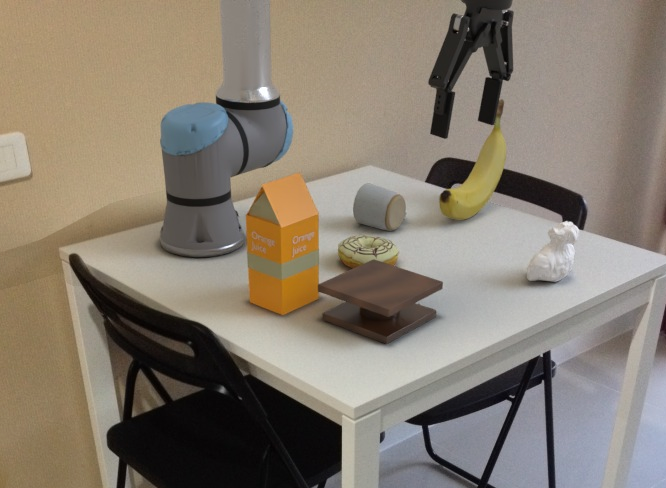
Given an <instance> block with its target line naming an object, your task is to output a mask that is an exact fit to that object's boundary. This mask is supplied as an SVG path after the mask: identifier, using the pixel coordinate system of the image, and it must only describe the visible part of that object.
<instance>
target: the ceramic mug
mask: <svg viewBox="0 0 666 488" xmlns="http://www.w3.org/2000/svg"><path fill="white" fill-rule="evenodd" d="M406 209H407V204H406V200H405V197H404V196H403V195H401V194H400V193H398V192H396V191H394V190H391V189H388V188H385V187H382V186H379V185H376V184H375V183H371V182H366V183H364V184H363V185H361V186H360V188H358V190H357V192H356V194H355V197H354V200H353V205H352V215H353V218H354V221H356V223H357V224H360V225H364V226H367V227H370V228H371V227H372V228H374V229H375V228H376V229H379V230H383V231H387V232H388V231H389V232H391V231H395V230H396V229H398V228H399V227H400V226H401V225H402V223H403V221H405V220H406V217H407V212H406Z"/></svg>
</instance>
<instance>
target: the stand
mask: <svg viewBox="0 0 666 488" xmlns="http://www.w3.org/2000/svg"><path fill="white" fill-rule="evenodd" d="M443 287H444V281H443V280H439V279H436V278H433V277H429V276H427V275H424V274H420V273H417V272H413V271H411V270H408V269H405V268H402V267H399V266H395V265H394V266H393V265H390V264H387V263H384V262H380V261H377V260H374V259H373V260H371V261H369V262H366V263H364V264H362V265H360V266H358V267H355V268H351V269H349V270H347V271H344V272H343V273H342V272H341V273H340V274H338V275H335V276H334V277H331V278H329V279H327V280H325V281H322V282H319V284H318V292H319V294H323V295H326V296H329V297H331V298H334V299H337V300H339V301H343V302H342V303H341V304H338V305H335V306H334V307H332V308H330V309H328V310H325V311H324V312H322V317H321V318H322V321H325V322H327V323H330V324H333V325H335V326H338V327H340V328H343V329H346V330H349V331H350V332H353V333H356V334H359V335H362V336H365V337H367V338H370V339H372V340H375V341H377V342H381V343H383V344H385V345H387V344H390V343H392V342H393V341H395V340H397V339H399V338H400V337H402V336H404V335H406V334H408V333H410V332H411V331H413V330H415V329H416V328H419V327H420V326H422V325H424V324H426V323H428V322H430V321H431V320H433V319H435V318H436V317H437V309H434V308H431V307H428V306H425V305H422V304H420V303H418V302H420V301H422V300H424V299H425V298H427V297H429V296H432V295H433V294H435V293H437V292H439V291H441V290H443Z"/></svg>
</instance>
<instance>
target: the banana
mask: <svg viewBox="0 0 666 488" xmlns="http://www.w3.org/2000/svg"><path fill="white" fill-rule="evenodd" d="M504 107H505V101H504V99H499V104H498V109H497V114H496V119H495V124H494V125H493V128H492V130H491V132H490V134H489V135H488V136H487V137H486V139H485V141H484V142H483V145H482V147H481V148H480V151H479V154H478V156H477V158H476V162H475V163H474V166H473V168H472V169H471V171H470V173H469V174H468V177H467V178H466V179H465V180H464V182H463V183H461V185H459V186H457V187H455V188H446V189H444V190H443V191H442V192H441V193H440V195H439V198H438V202H439V209H440V211H441V214H442V215H443V216H445V217H446V218H449V219H452V220H456V221H457V220H458V221H462V220H467V219H470V218H471V217H473V216H475V215H476V214H477V213H479V212H481V210H482V209H484V208H485V206H486V205H487V204H488V202H489V201H490V199H491V198H492V196H493V194H494V193H495V190H496V189H497V186H498V184H499V182H500V179H501V177H502V174H503V172H504V168H505V164H506V160H507V159H506V158H507V144H506V140H505V137H504V135H503V132H502V128H501V119H502V115H503V114H504Z"/></svg>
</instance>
